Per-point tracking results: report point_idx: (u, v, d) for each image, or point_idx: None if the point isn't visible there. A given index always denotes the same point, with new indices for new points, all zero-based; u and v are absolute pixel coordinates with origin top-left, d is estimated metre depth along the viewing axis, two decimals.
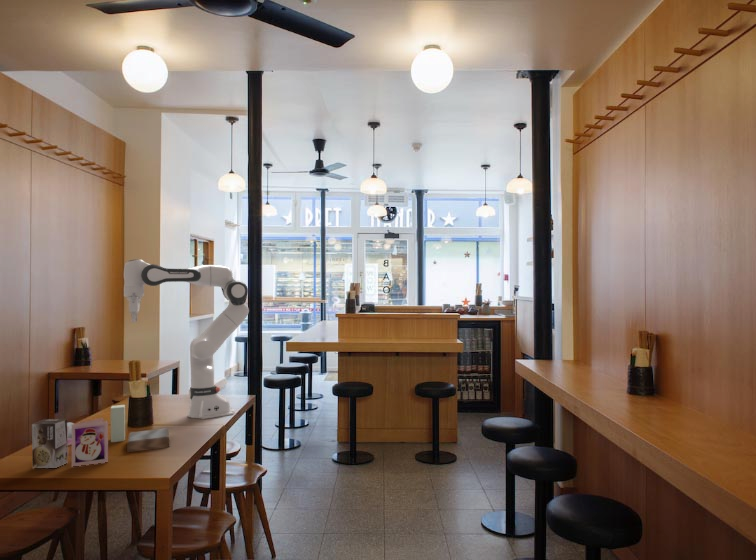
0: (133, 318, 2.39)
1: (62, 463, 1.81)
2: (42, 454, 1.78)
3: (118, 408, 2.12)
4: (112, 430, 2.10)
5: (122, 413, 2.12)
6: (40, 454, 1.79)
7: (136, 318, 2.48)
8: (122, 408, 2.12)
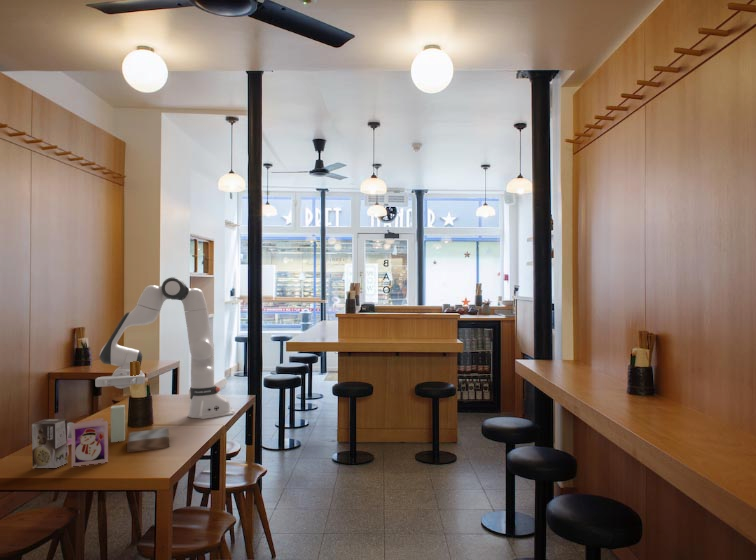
0: (105, 383, 2.24)
1: (62, 463, 1.81)
2: (42, 454, 1.78)
3: (118, 408, 2.11)
4: (112, 430, 2.10)
5: (122, 413, 2.12)
6: (40, 454, 1.79)
7: (129, 380, 2.28)
8: (122, 408, 2.12)
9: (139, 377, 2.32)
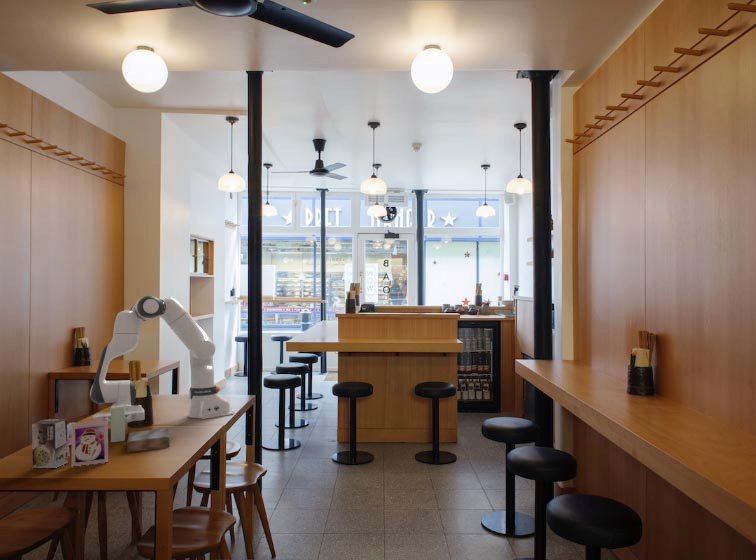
0: None
1: (62, 463, 1.81)
2: (42, 454, 1.78)
3: (118, 408, 2.12)
4: (112, 430, 2.10)
5: (122, 413, 2.12)
6: (40, 454, 1.79)
7: None
8: (122, 408, 2.12)
9: (138, 413, 2.20)
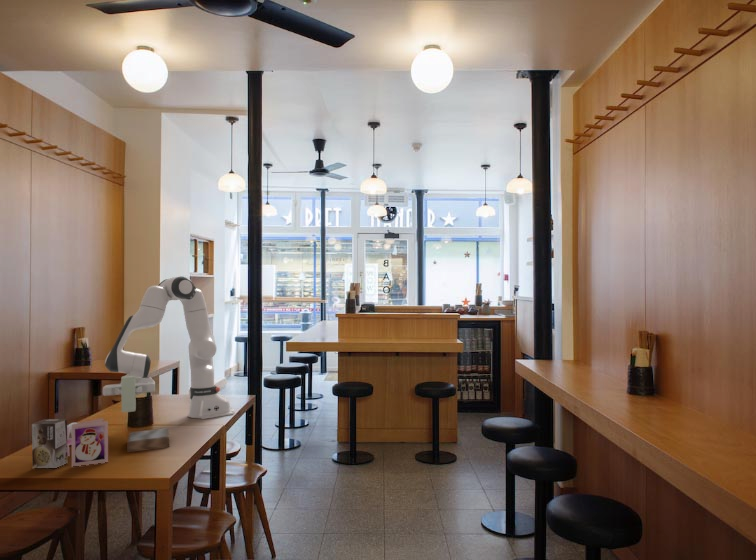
0: (117, 392, 2.10)
1: (62, 463, 1.81)
2: (42, 454, 1.78)
3: (128, 378, 2.09)
4: (123, 400, 2.08)
5: (133, 383, 2.10)
6: (40, 454, 1.79)
7: (135, 388, 2.13)
8: (132, 378, 2.10)
9: (149, 385, 2.18)
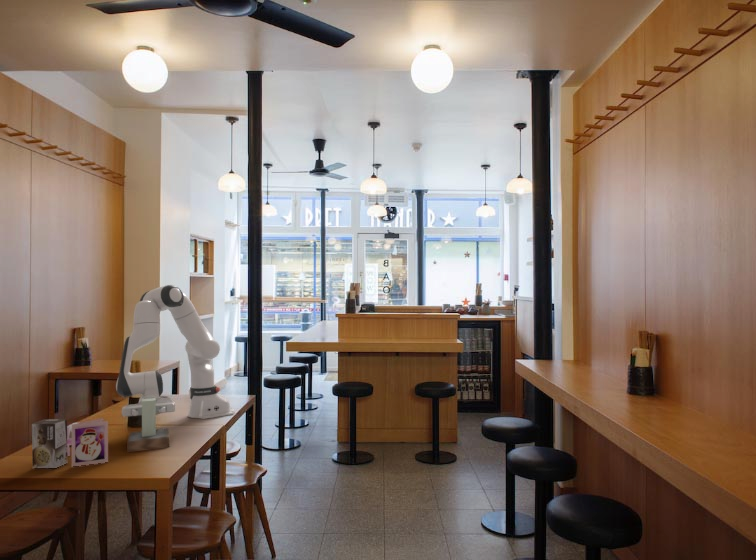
0: (133, 413, 2.05)
1: (62, 463, 1.81)
2: (42, 454, 1.78)
3: (149, 401, 2.04)
4: (143, 424, 2.03)
5: (153, 406, 2.05)
6: (40, 454, 1.79)
7: (159, 409, 2.08)
8: (153, 401, 2.05)
9: (169, 405, 2.13)
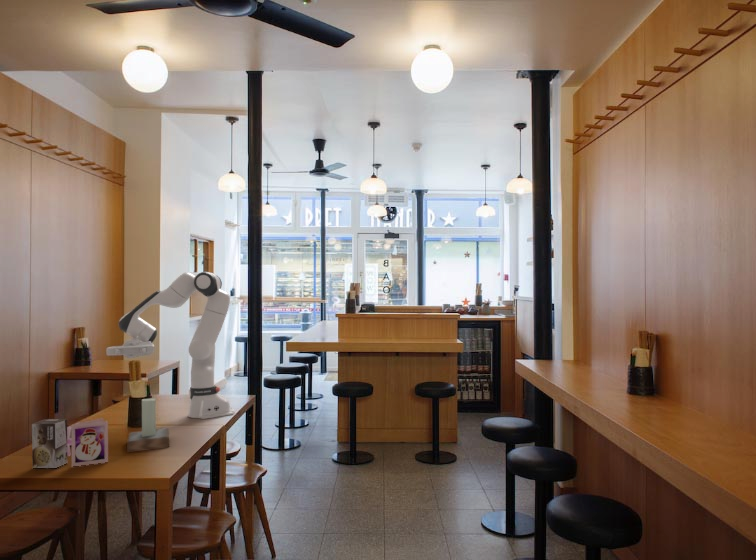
0: (116, 352, 2.31)
1: (62, 463, 1.81)
2: (42, 454, 1.78)
3: (149, 401, 2.04)
4: (143, 424, 2.03)
5: (153, 406, 2.05)
6: (40, 454, 1.79)
7: (139, 349, 2.34)
8: (153, 401, 2.05)
9: (149, 347, 2.39)
